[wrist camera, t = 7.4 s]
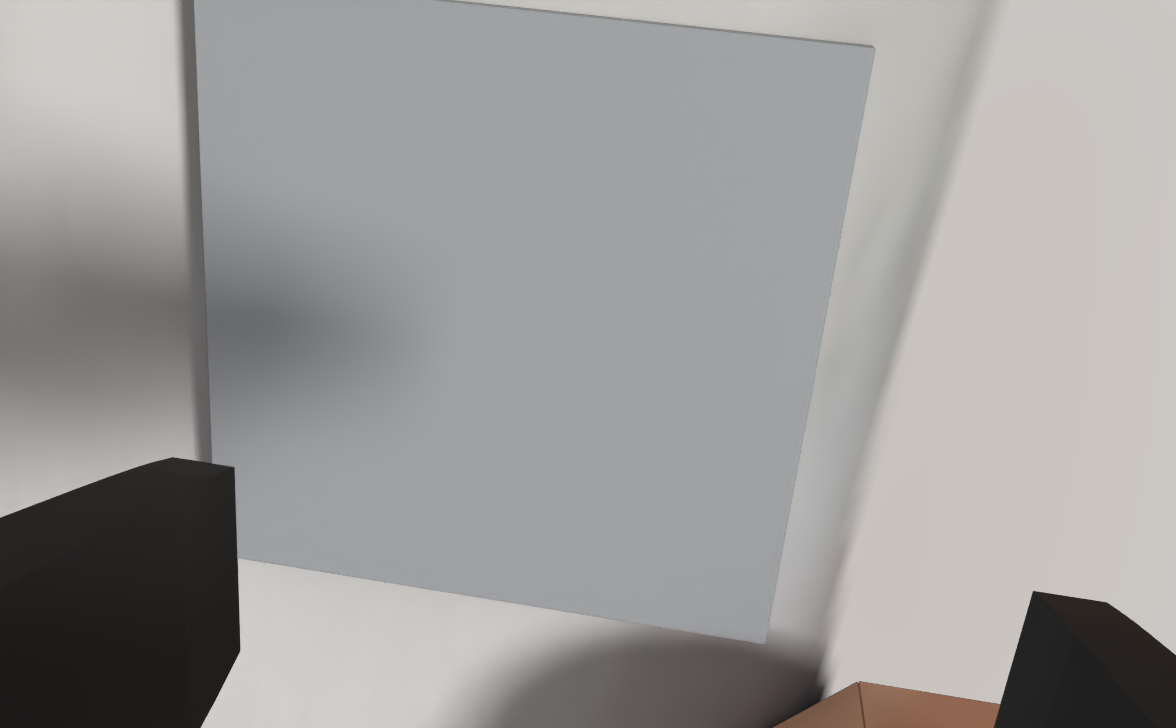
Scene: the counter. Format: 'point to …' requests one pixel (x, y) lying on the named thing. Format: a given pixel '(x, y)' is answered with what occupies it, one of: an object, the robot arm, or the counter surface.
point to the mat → (520, 295)
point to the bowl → (893, 710)
